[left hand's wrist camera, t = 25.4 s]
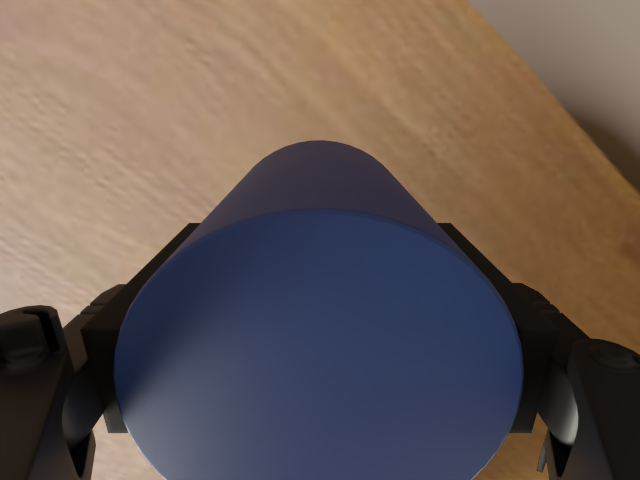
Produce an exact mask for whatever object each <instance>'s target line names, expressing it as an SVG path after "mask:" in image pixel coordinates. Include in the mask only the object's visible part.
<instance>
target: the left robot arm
mask: <svg viewBox="0 0 640 480" xmlns="http://www.w3.org/2000/svg"><path fill="white" fill-rule="evenodd" d="M200 224H201V223H189V224H188V225H187V226H186V227H185V228H184V229H183V230H182V231H181V232H180V233H179V234H178V235H177V236H176V237H175V238H174V239H172V240H171V241H170V242H169V243H168V244H167V245H166V246H165V247H164V248H163V249H162V250H161V251H160V252H159V253H158V254H157V255H156V256H155V257H154V258H153V259H152V260H151V261H150V262H149V263H148V264H147V265H146V266H145V267H144V268H143V269H142V270H141V271H140V272H139V273H138V274H137V275H136V276H134V277H133V278H132V279H131V280H130V281H129V282H128V283H127V284H118V285H116V286H115V287H113V288H111V289H109V290H107V291H105V292H103V293H101V294H100V295H99V296H98V297H97V298H96V299H95V300H94V301H92V302H91V303H90V306H87V307H86V308H85V309H84V310H83V311H81V314H80V315H77V316H76V317H75V318H74V319H73V320H71V321H70V322H69V323H68V324H67V325H66V326H65V327H64V328H63V329H62V326H61V322H60V319H59V316H58V312H57V310H56V309H54V308H53V307H51V306H43V305H37V306H26V307H22V308H18V309H14V310H10V311H7V312H4V313H2V314H0V480H91V474H92V468H93V461H94V454H95V448H96V443H95V437H94V433H93V430H92V428H93V427H94V426H95V424H96V423H97V421H98V420H99V418H100V417H101V415H102V414H103V415H104V419H105V422H106V426H107V430H108V433H129V432H128V430H127V428H126V426H125V423H124V421H123V419H122V417H121V413H120V410H119V406H118V403H117V399H116V394H115V385H114V375H113V374H114V358H115V349H116V345H117V340H118V336H119V332H120V328H121V326H122V323H123V321H124V319H125V316H126V314H127V312H128V309H129V307H130V305H131V304H132V302H133V301H134V299H135V298H136V296H137V294H138V293H139V291H140V290H141V288H142V287H143V285H144V284H145V283H146V282H147V281H148V280H149V279H150V278H151V276H152V275H153V274H154V273H155V272H156V271H157V270H158V269H159V267H160V266H161V265H162V264H163V263H164V262H165V261H166V260H167V259H168V258H169V257H170V256H171V255H172V254H173V253H174V251H175V250H176V249H177V248H178V247H179V246H180V245H181V244H182V243H183V242H184V241H185V240H186V239H187V238H188V237H189V235H190V234H191V233H192V232H193V231H194V230H195V229H196V228H197V227H198V226H199V225H200ZM437 224H438V225H439V226H440V227H441V228H442V229H443V230H444V231H445V233H446V234H447V235H448V236H449V237H450V238H451V239H452V240H453V241H454V242H455V243H456V244H457V246H458V247H459V248H460V249H461V250H462V251H463V252H464V253H465V254H466V255H467V256H468V257H469V259H470V260H471V261H472V262H473V263H474V264H475V265H476V266H477V267H478V268H479V269H480V270H481V272H482V273H483V274H484V275H485V276H486V277H487V278H488V279H489V280H490V281H491V283H492V284H493V286H494V287H495V289H496V290H497V291H498V293H499V294H500V296H501V297H502V299H503V300H504V301H505V303H506V306H507V308H508V310H509V312H510V314H511V316H512V318H513V320H514V322H515V325H516V329H517V332H518V336H519V339H520V343H521V347H522V357H523V366H524V376H523V391H522V395H521V400H520V404H519V408H518V412H517V415H516V417H515V420H514V422H513V425H512V427H511V430H510V432H509V433H531V432H532V429H533V425H534V421H535V418H536V414H537V412H538V414H539V415H540V417H541V418H542V419H543V421H544V422H545V424H546V425H547V427H548V430H547V433H546V437H545V440H544V444H543V447H542V450H541V454H540V457H539V460H538V465H537V471H540V472H543V469H544V466H545V464H546V463H547V467H548V473H549V480H640V355H639V354H637V353H636V352H634V351H633V350H630V349H628V348H626V347H624V346H621V345H619V344H616V343H613V342H609V341H606V340H600V339H592V338H589V337H588V336H587V335H586V334H585V333H584V332H583V331H581V330H580V329H579V328H578V327H577V326H576V325H575V324H574V323H573V322H571V321H570V320H569V319H568V318H567V317H566V316H565V315H564V314H563V313H560V311H559V310H558V309H557V308H556V307H555V306H554V305H552V304H550V302H549V301H548V300H547V299H546V298H545V297H544V296H542V295H541V294H540V293H539V292H538V291H536V290H534V289H532V288H530V287H528V286H526V285H524V284H522V283H511V282H510V281H509V280H508V279H507V278H506V277H505V276H504V275H503V274H502V273H501V272H500V271H499V270H498V269H497V268H496V267H495V266H494V265H493V264H492V263H491V262H490V261H489V260H488V259H487V258H486V257H485V256H484V255H483V254H482V253H481V252H480V251H479V250H478V249H477V248H475V247H474V246H473V245H472V244H471V243H470V242H469V241H468V240H467V239H466V238H465V237H464V236H463V235H462V234H461V233H460V232H459V231H458V230H457V229H456V228H455V227H454V226H453V225H452V224H451V223H437Z"/></svg>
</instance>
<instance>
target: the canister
mask: <svg viewBox="0 0 640 480" xmlns="http://www.w3.org/2000/svg"><path fill="white" fill-rule="evenodd" d="M113 375H114V385H115V394H116V399H117V403H118V406H119V410H120V413H121V417H122V419H123V421H124V423H125V426H126V428H127V430H128V432H129V435H130V436H131V438H132V440H133V441H134V443H135V444H136V446H137V447H138V449H139V451H140V452H141V454H142V455H143V456H144V457H145V458H146V459H147V461H148V462H149V463H150V464H151V465H152V467H153V468H154V469H155V470H156V471H157V472H158V473H159V474H160V475H161V476H162V477H164V478H165V479H166V480H472V479H473V478H474V477H475V476H476V475H477V474H478V473H479V472H480V471H481V470H482V469H483V468H484V467H485V466H486V465H487V464H488V463H489V462H490V460H491V459H492V458H493V456H494V455H495V454H496V453H497V451H498V450H499V449H500V447H501V445H502V444H503V442H504V440H505V438H506V437H507V435H508V433H509V432H510V430H511V427H512V425H513V422H514V420H515V417H516V415H517V412H518V408H519V404H520V400H521V395H522V391H523V376H524V366H523V357H522V347H521V343H520V339H519V336H518V332H517V329H516V325H515V322H514V320H513V318H512V316H511V314H510V312H509V310H508V308H507V306H506V303H505V301H504V300H503V299H502V297H501V296H500V294H499V293H498V291H497V290H496V289H495V287H494V286H493V284H492V283H491V281H490V280H489V279H488V278H487V277H486V276H485V275H484V274H483V273H482V272H481V270H480V269H479V268H478V267H477V266H476V265H475V264H474V263H473V262H472V261H471V260H470V259H469V257H468V256H467V255H466V254H465V253H464V252H463V251H462V250H461V249H460V248H459V247H458V246H457V244H456V243H455V242H454V241H453V240H452V239H451V238H450V237H449V236H448V235H447V234H446V233H445V231H444V230H443V229H442V228H441V227H440V226H439V225H438V224H437V223H436V222H435V221H434V220H433V218H432V217H431V216H430V215H429V214H428V213H427V212H426V211H425V210H424V209H423V208H422V207H421V205H420V204H419V203H418V202H417V201H416V200H415V199H414V198H413V197H412V196H411V195H410V194H409V192H408V191H407V190H406V189H405V188H404V187H403V186H402V185H401V184H400V183H399V182H398V181H397V179H396V178H395V177H394V176H393V175H392V174H391V173H390V172H389V171H388V170H387V169H386V168H385V167H384V166H383V165H382V164H381V163H380V162H379V161H377V160H376V159H375V158H374V157H372V156H371V155H369V154H367V153H365V152H364V151H362V150H360V149H357V148H355V147H353V146H350V145H347V144H343V143H339V142H333V141H306V142H300V143H296V144H292V145H289V146H286V147H284V148H281V149H279V150H277V151H275V152H273V153H272V154H270V155H268V156H267V157H265V158H264V159H262V160H261V161H260V162H259V163H258V164H257V165H255V166H254V167H253V168H252V169H251V171H250V172H249V173H248V174H247V175H246V176H245V177H244V178H243V179H242V180H241V181H240V182H239V183H238V184H237V185H236V186H235V188H234V189H233V190H232V191H231V192H230V193H229V194H228V195H227V196H226V197H225V198H224V199H223V200H222V201H221V202H220V204H219V205H218V206H217V207H216V208H215V209H214V210H213V211H212V212H211V213H210V214H209V215H208V216H207V217H206V218H205V219H204V221H203V222H202V223H201V224H200V225H199V226H198V227H197V228H196V229H195V230H194V231H193V232H192V233H191V234H190V235H189V237H188V238H187V239H186V240H185V241H184V242H183V243H182V244H181V245H180V246H179V247H178V248H177V249H176V250H175V251H174V253H173V254H172V255H171V256H170V257H169V258H168V259H167V260H166V261H165V262H164V263H163V264H162V265H161V266H160V267H159V269H158V270H157V271H156V272H155V273H154V274H153V275H152V276H151V278H150V279H149V280H148V281H147V282H146V283H145V284H144V285H143V287H142V288H141V290H140V291H139V293H138V294H137V296H136V298H135V299H134V301H133V302H132V304H131V305H130V307H129V309H128V312H127V314H126V316H125V319H124V321H123V323H122V326H121V328H120V332H119V336H118V340H117V345H116V349H115V358H114V374H113Z"/></svg>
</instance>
